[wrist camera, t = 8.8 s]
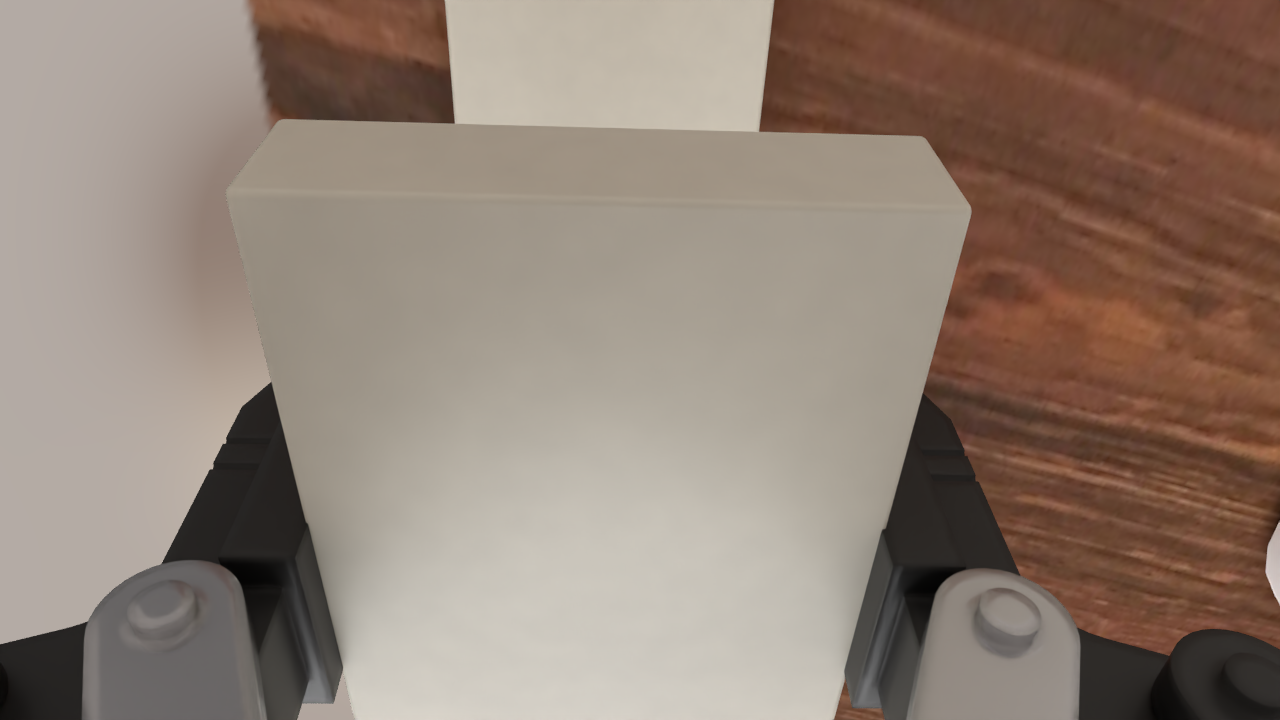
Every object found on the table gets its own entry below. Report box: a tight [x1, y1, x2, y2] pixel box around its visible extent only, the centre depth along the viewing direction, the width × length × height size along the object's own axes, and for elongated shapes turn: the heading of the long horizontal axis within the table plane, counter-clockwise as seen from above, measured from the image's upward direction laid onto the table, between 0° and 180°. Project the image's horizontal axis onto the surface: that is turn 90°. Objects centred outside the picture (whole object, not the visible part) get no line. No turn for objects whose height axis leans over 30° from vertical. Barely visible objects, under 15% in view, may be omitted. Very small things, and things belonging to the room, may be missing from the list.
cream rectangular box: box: [445, 0, 774, 132], centre depth 19 cm, size 9×6×3 cm, turn 178°
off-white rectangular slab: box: [226, 119, 972, 720], centre depth 10 cm, size 9×6×1 cm, turn 178°
